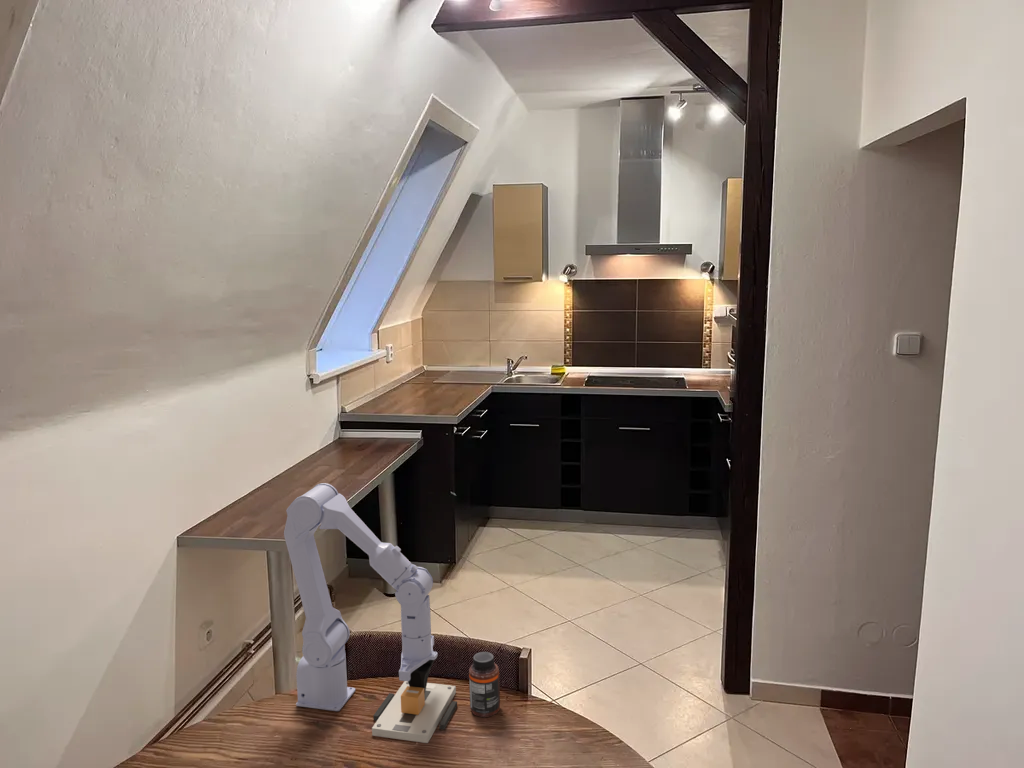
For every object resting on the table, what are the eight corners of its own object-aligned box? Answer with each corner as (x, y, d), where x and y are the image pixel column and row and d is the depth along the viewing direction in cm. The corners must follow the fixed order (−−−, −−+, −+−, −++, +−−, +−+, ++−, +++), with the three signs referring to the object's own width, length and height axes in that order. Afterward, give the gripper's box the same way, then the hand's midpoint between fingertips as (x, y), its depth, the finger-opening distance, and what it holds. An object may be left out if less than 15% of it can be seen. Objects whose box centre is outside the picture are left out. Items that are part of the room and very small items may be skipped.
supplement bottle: (483, 697, 154) (482, 645, 152) (506, 708, 150) (505, 654, 148) (463, 711, 149) (462, 657, 147) (486, 722, 145) (485, 667, 144)
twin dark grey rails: (373, 720, 146) (373, 715, 146) (389, 697, 154) (389, 693, 154) (444, 729, 143) (444, 724, 143) (457, 706, 151) (456, 701, 151)
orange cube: (401, 712, 146) (400, 695, 145) (407, 702, 149) (407, 685, 149) (418, 714, 145) (417, 697, 144) (424, 704, 148) (424, 687, 148)
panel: (372, 735, 142) (371, 727, 142) (405, 686, 158) (405, 679, 158) (427, 743, 139) (427, 735, 139) (455, 692, 156) (455, 685, 155)
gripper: (423, 651, 140) (425, 719, 142) (447, 616, 154) (449, 678, 156) (387, 648, 142) (390, 714, 144) (414, 613, 156) (416, 674, 158)
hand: (418, 695), depth 150 cm, fingers closed
